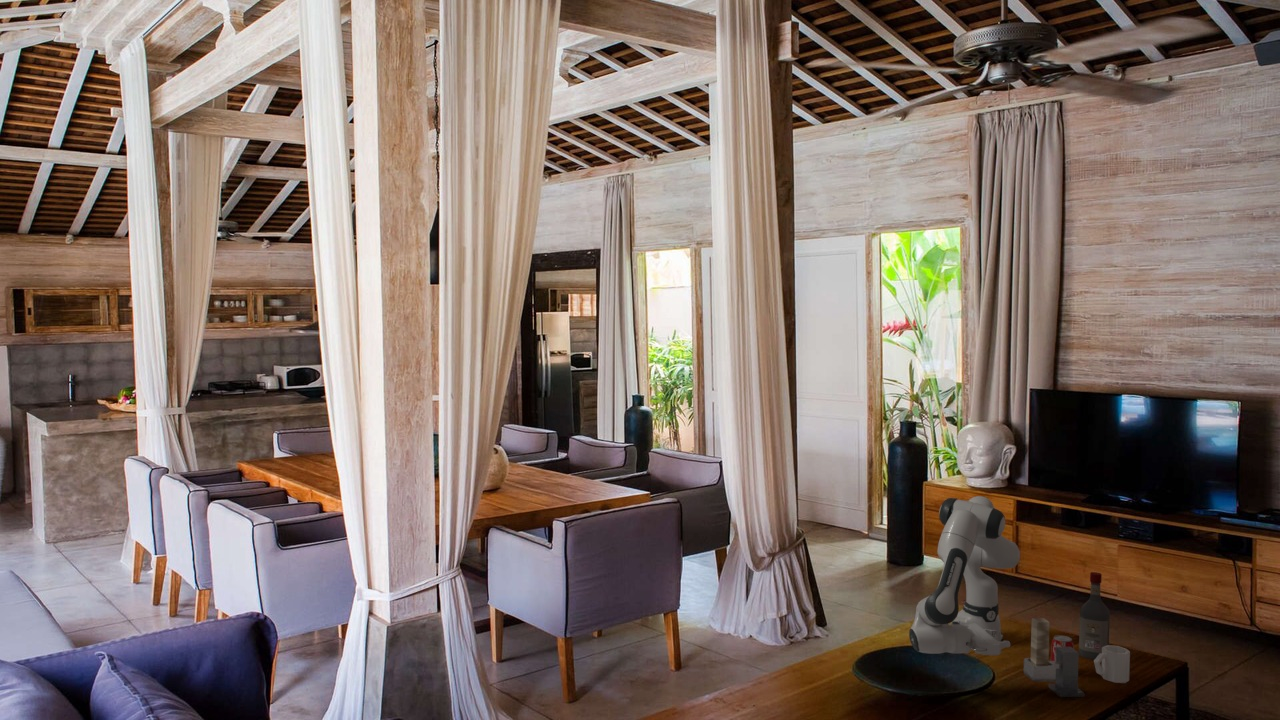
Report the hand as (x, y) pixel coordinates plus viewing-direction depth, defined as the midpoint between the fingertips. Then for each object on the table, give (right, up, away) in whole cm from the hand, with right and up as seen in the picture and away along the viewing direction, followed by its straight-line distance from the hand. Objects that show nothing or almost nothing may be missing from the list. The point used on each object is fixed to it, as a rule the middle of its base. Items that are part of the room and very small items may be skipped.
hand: (1003, 638), depth 306 cm
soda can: (+27, -17, +18) cm, 37 cm away
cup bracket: (+17, -18, +1) cm, 25 cm away
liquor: (+46, -16, +34) cm, 59 cm away
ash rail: (+12, -12, +1) cm, 17 cm away
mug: (+41, -18, +13) cm, 46 cm away
